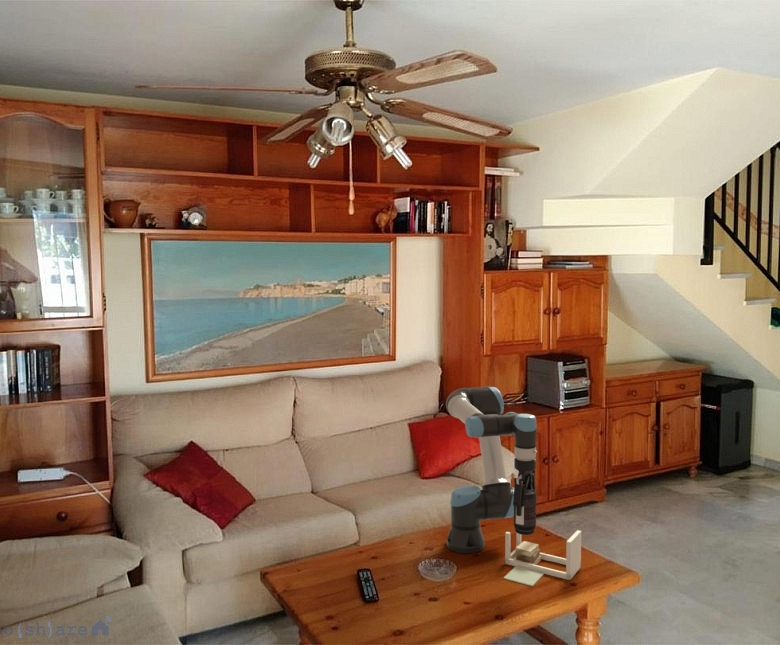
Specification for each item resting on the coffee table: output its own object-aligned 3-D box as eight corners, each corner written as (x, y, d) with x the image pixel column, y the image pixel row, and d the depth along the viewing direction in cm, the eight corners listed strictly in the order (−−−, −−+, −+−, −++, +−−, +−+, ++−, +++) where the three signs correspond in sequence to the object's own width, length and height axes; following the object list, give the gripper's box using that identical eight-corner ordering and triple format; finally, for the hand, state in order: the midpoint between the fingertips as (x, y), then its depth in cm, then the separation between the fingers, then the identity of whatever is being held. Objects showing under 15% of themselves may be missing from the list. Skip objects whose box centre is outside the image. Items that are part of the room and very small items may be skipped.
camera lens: (534, 527, 254) (535, 487, 253) (537, 536, 246) (537, 495, 245) (512, 526, 255) (512, 486, 253) (514, 535, 247) (514, 494, 245)
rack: (505, 563, 263) (505, 527, 261) (517, 552, 273) (518, 517, 271) (570, 580, 249) (570, 542, 248) (580, 567, 259) (581, 531, 258)
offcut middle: (516, 558, 263) (516, 552, 263) (521, 551, 269) (522, 545, 269) (534, 562, 260) (534, 556, 259) (539, 555, 266) (539, 549, 266)
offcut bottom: (513, 565, 263) (513, 558, 263) (521, 557, 270) (521, 551, 270) (533, 570, 259) (533, 563, 259) (541, 561, 266) (541, 555, 265)
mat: (503, 578, 251) (503, 577, 251) (515, 567, 260) (515, 565, 260) (532, 586, 245) (532, 585, 245) (544, 574, 254) (544, 573, 254)
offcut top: (515, 552, 263) (515, 547, 263) (524, 545, 269) (524, 540, 269) (530, 556, 259) (530, 551, 259) (538, 549, 265) (538, 544, 265)
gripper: (523, 467, 237) (523, 531, 239) (545, 452, 254) (545, 512, 257) (503, 464, 241) (502, 527, 244) (526, 449, 259) (525, 508, 261)
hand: (524, 519), depth 250 cm, fingers closed on camera lens, 8 cm apart
